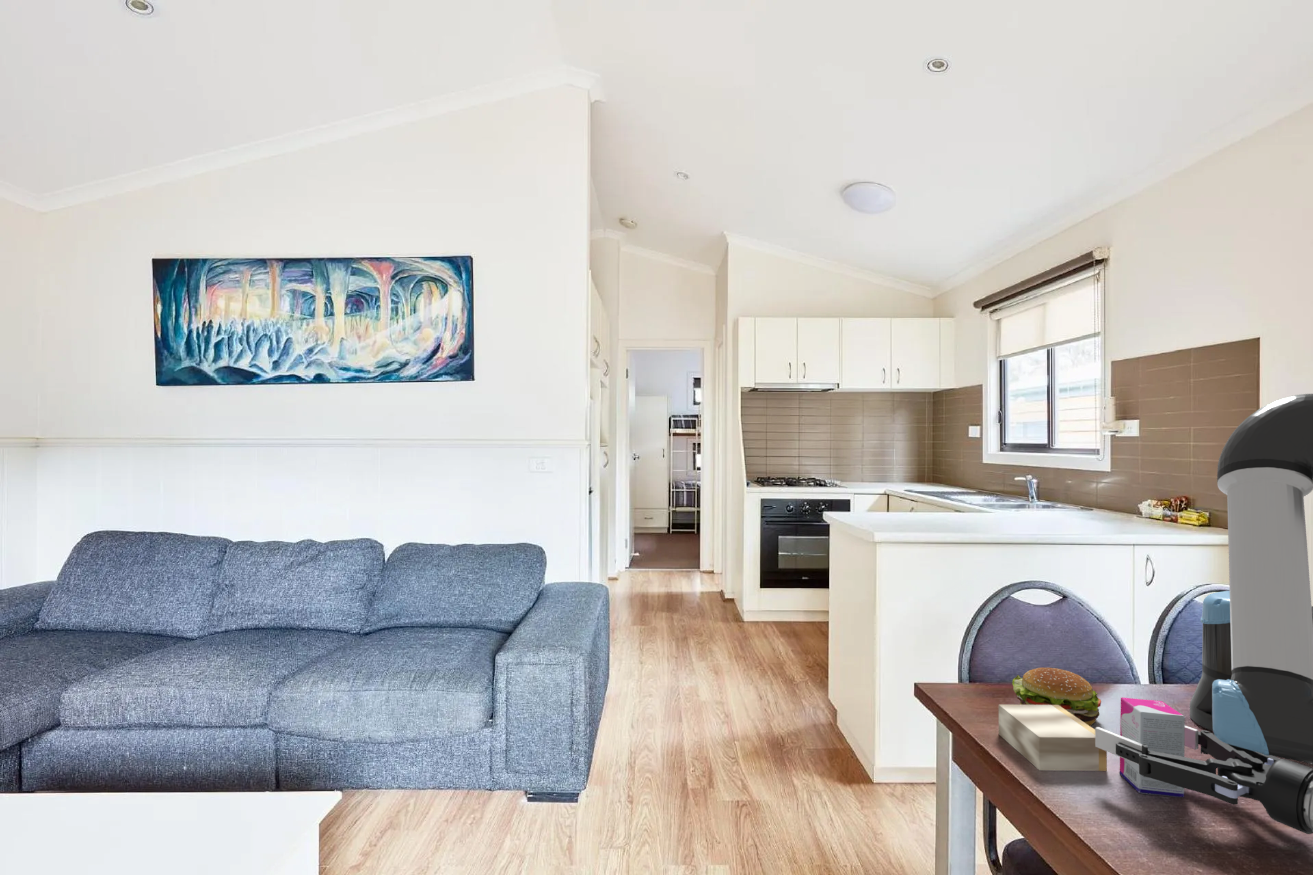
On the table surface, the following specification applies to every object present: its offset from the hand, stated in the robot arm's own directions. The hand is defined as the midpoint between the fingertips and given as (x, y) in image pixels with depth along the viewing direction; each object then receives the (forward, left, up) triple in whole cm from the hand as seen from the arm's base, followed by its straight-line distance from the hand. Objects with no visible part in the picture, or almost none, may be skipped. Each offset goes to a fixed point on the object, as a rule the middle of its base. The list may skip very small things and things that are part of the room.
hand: (1122, 728), depth 96 cm
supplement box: (-3, +2, -7) cm, 8 cm away
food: (+12, -17, -7) cm, 22 cm away
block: (+10, 0, -7) cm, 12 cm away
